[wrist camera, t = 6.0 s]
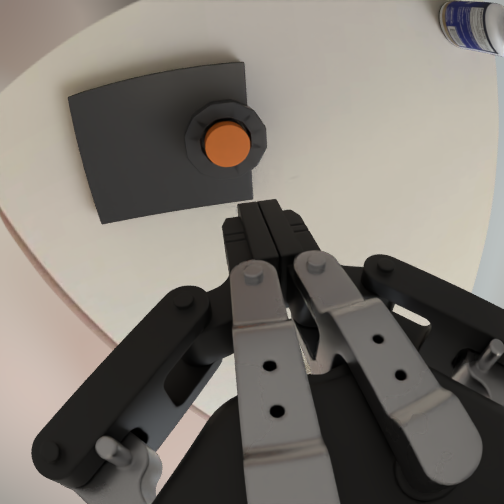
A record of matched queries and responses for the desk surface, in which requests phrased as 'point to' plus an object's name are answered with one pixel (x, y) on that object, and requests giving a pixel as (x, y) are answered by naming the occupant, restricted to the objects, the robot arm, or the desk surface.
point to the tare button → (226, 144)
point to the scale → (164, 141)
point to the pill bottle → (474, 26)
